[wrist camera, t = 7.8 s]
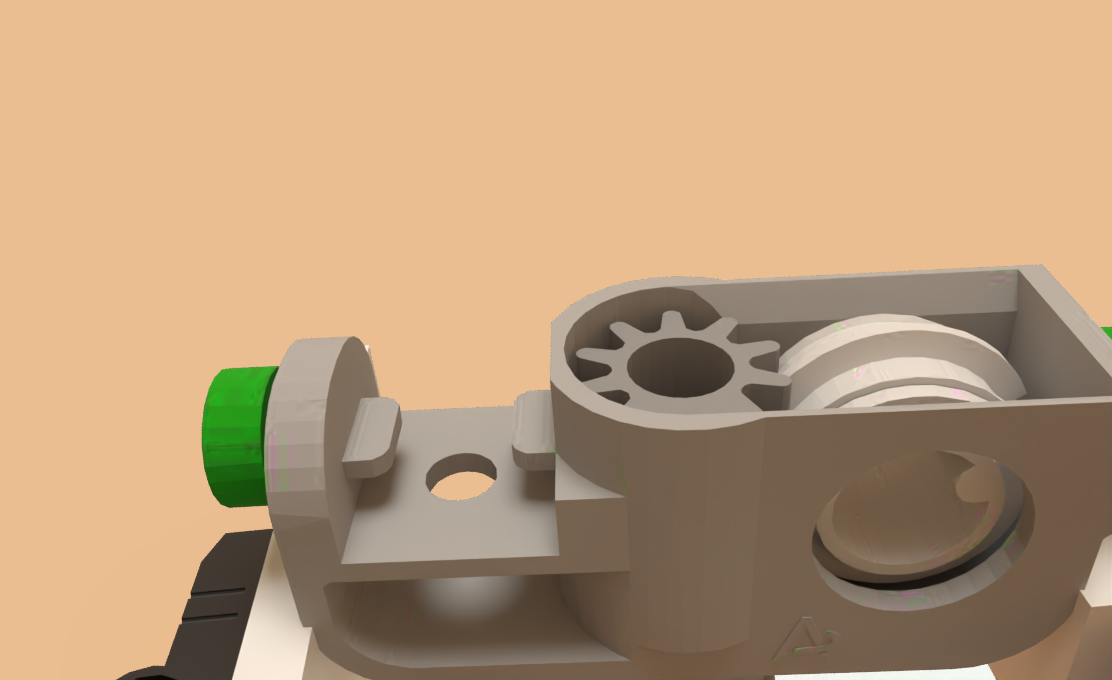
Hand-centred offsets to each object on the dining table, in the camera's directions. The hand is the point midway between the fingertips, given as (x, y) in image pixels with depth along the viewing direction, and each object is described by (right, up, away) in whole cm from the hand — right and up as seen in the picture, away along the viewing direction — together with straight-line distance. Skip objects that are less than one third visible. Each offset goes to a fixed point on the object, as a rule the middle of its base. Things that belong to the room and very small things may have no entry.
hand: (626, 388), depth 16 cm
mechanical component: (+1, -8, -1) cm, 8 cm away
